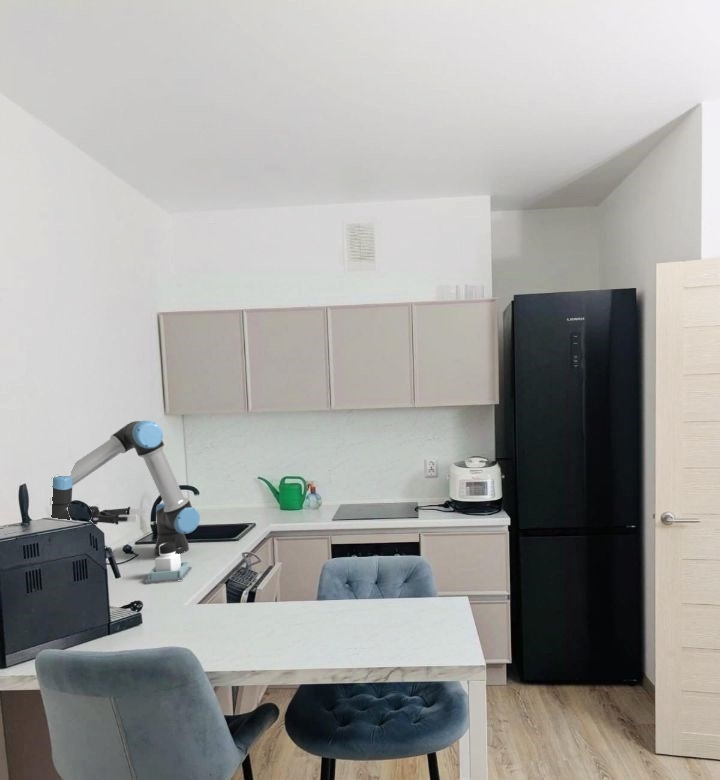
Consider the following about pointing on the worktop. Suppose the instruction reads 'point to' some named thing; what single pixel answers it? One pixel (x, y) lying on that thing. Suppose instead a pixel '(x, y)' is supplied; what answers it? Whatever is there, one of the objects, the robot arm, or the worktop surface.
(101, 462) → the robot arm
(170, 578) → the shallow blue tray
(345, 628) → the worktop surface
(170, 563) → the medicine bottle
